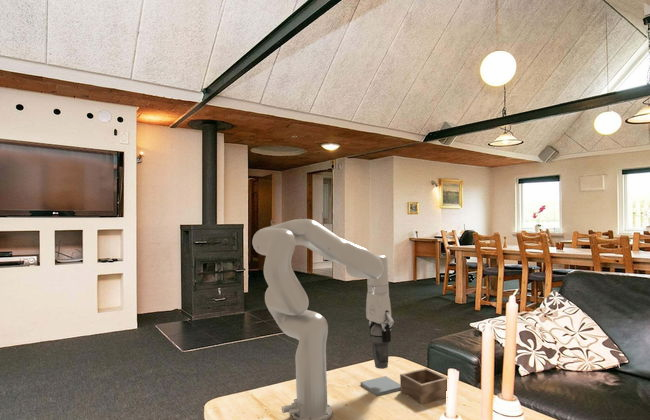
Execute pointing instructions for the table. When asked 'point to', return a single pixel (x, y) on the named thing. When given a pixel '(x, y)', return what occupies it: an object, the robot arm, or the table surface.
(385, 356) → the beverage cup
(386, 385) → the rubber mat
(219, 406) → the table surface
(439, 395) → the box
